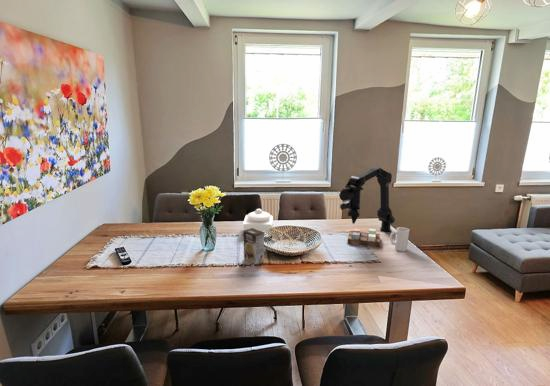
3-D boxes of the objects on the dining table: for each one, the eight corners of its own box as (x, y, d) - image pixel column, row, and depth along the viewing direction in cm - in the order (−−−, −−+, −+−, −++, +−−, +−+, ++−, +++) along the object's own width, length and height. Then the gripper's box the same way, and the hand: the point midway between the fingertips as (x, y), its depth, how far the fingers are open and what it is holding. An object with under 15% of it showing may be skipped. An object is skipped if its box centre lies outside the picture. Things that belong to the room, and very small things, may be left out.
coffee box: (243, 259, 173) (242, 230, 169) (252, 255, 178) (252, 227, 174) (255, 264, 167) (255, 235, 163) (264, 260, 172) (264, 231, 168)
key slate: (352, 238, 197) (352, 232, 196) (359, 239, 196) (359, 232, 195) (352, 241, 194) (352, 234, 193) (359, 241, 193) (359, 235, 192)
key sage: (368, 234, 201) (368, 228, 200) (375, 235, 200) (375, 229, 199) (368, 236, 198) (368, 230, 197) (375, 237, 196) (375, 231, 195)
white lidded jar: (272, 238, 203) (272, 213, 199) (243, 237, 203) (242, 213, 199) (273, 228, 220) (273, 205, 216) (246, 227, 220) (245, 204, 216)
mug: (404, 246, 190) (406, 227, 187) (409, 251, 183) (411, 231, 180) (387, 246, 190) (388, 226, 187) (390, 251, 183) (392, 231, 181)
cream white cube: (368, 240, 195) (368, 233, 194) (375, 241, 194) (375, 234, 193) (367, 242, 191) (368, 236, 190) (375, 243, 190) (375, 237, 189)
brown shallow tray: (349, 235, 206) (349, 230, 206) (379, 238, 201) (379, 234, 201) (347, 243, 193) (347, 239, 193) (379, 247, 188) (379, 242, 188)
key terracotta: (353, 234, 204) (353, 228, 203) (359, 235, 203) (360, 229, 202) (352, 236, 200) (353, 230, 199) (359, 237, 199) (360, 231, 198)
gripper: (342, 193, 202) (340, 217, 206) (339, 201, 185) (338, 227, 189) (361, 194, 199) (359, 219, 203) (360, 202, 182) (358, 229, 186)
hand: (353, 223), depth 195 cm, fingers closed
